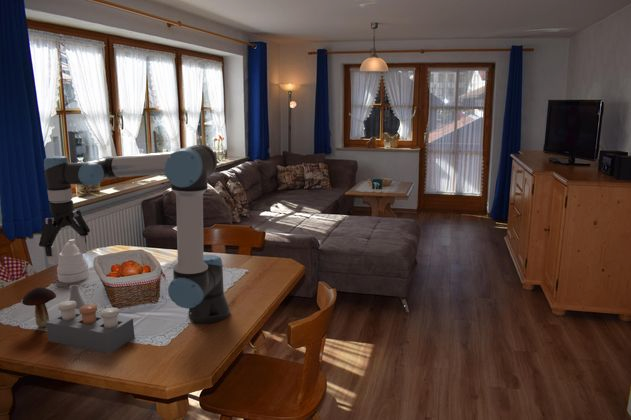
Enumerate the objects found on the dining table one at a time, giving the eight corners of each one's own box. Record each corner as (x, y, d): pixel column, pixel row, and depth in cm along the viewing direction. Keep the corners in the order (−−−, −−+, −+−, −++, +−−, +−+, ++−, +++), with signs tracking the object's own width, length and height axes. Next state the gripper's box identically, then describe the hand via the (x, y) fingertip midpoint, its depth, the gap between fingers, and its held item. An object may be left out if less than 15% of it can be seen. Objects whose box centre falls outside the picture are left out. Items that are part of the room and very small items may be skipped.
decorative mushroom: (37, 336, 181) (31, 296, 178) (19, 328, 187) (13, 289, 184) (66, 324, 190) (61, 285, 187) (48, 317, 196) (43, 280, 193)
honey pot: (95, 275, 239) (90, 237, 235) (69, 284, 229) (64, 245, 225) (78, 270, 246) (73, 233, 242) (52, 279, 236) (46, 240, 231)
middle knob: (103, 326, 180) (100, 305, 178) (91, 333, 174) (88, 311, 173) (90, 323, 181) (87, 303, 180) (77, 330, 176) (75, 309, 175)
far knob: (82, 322, 183) (79, 301, 181) (70, 329, 177) (67, 308, 176) (69, 320, 184) (67, 299, 183) (57, 326, 179) (54, 306, 178)
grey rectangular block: (134, 337, 180) (132, 318, 178) (110, 353, 169) (107, 333, 167) (75, 326, 189) (73, 308, 187) (48, 341, 178) (45, 322, 176)
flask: (79, 315, 198) (76, 290, 196) (62, 313, 199) (59, 289, 197) (91, 307, 205) (88, 283, 203) (74, 306, 206) (71, 282, 204)
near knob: (124, 329, 176) (122, 308, 175) (112, 337, 171) (110, 315, 170) (111, 327, 178) (108, 306, 177) (99, 334, 173) (96, 313, 171)
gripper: (80, 193, 195) (87, 247, 200) (21, 207, 172) (30, 268, 177) (96, 194, 192) (102, 249, 197) (38, 209, 170) (46, 271, 175)
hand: (68, 258), depth 187 cm, fingers open, 13 cm apart
